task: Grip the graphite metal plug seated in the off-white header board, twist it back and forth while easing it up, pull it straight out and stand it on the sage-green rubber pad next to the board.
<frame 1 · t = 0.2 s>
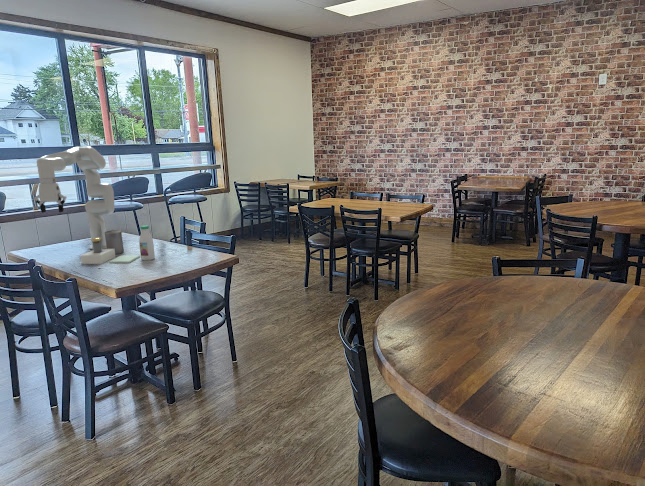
hand: (52, 212, 253), 31 cm above the table, fingers open, 9 cm apart
header: (99, 260, 270), on the table
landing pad: (125, 259, 269), on the table
milk bottle: (148, 259, 270), on the table
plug: (97, 249, 268), in the header
grey bin: (115, 253, 287), on the table
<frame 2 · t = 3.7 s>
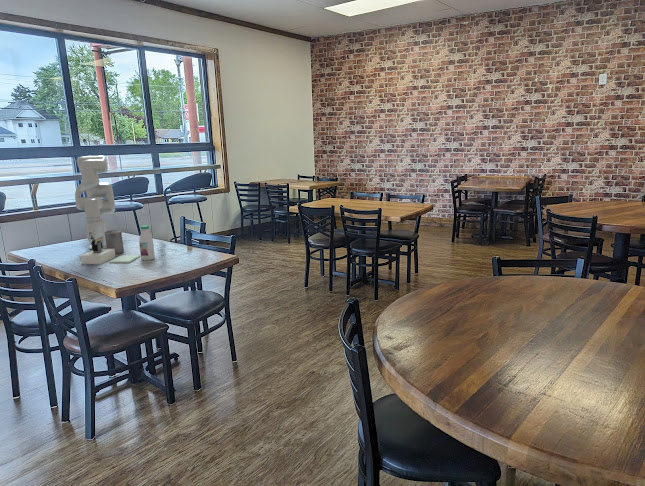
hand: (97, 249, 268), 6 cm above the table, fingers closed on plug, 4 cm apart
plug: (97, 249, 268), in the header, touching gripper
everything else where it was.
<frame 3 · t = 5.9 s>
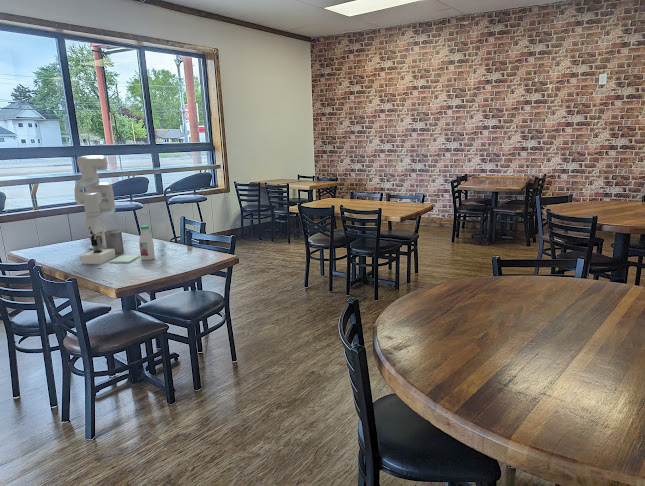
hand: (96, 244, 268), 9 cm above the table, fingers closed on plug, 4 cm apart
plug: (96, 244, 268), point 10 cm above the table, touching gripper
everything else where it was.
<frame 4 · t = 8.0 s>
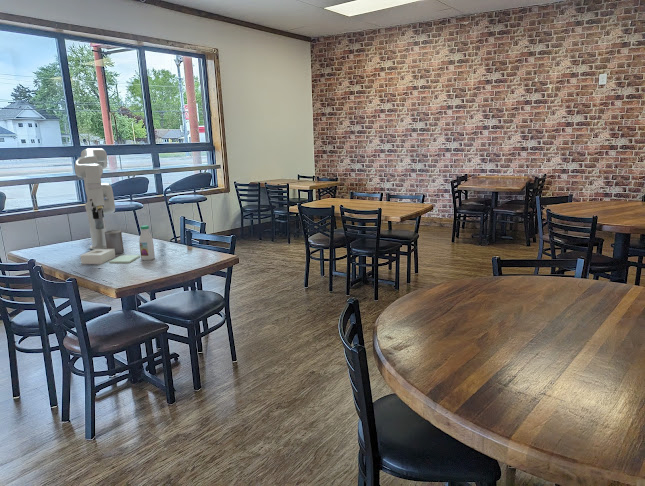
hand: (98, 217, 264), 26 cm above the table, fingers closed on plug, 4 cm apart
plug: (98, 217, 264), point 26 cm above the table, touching gripper
everything else where it was.
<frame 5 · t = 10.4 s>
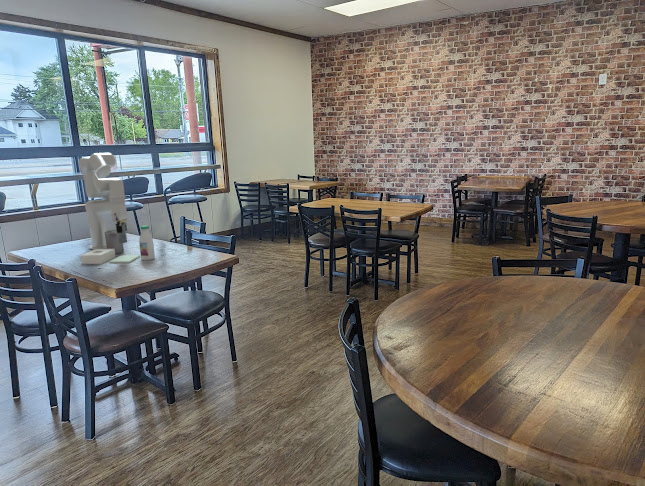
hand: (121, 231, 265), 17 cm above the table, fingers closed on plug, 4 cm apart
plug: (121, 231, 265), point 17 cm above the table, touching gripper
everything else where it was.
when the fingers open (9 cm above the table, at t = 12.3 s): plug drops 1 cm, resting on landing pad.
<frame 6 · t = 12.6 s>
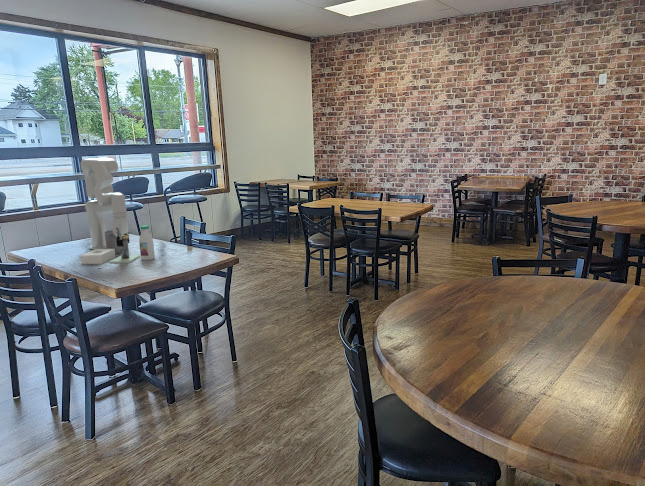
hand: (123, 244, 267), 9 cm above the table, fingers open, 7 cm apart
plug: (124, 247, 268), on the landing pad, point 8 cm above the table
everything else where it was.
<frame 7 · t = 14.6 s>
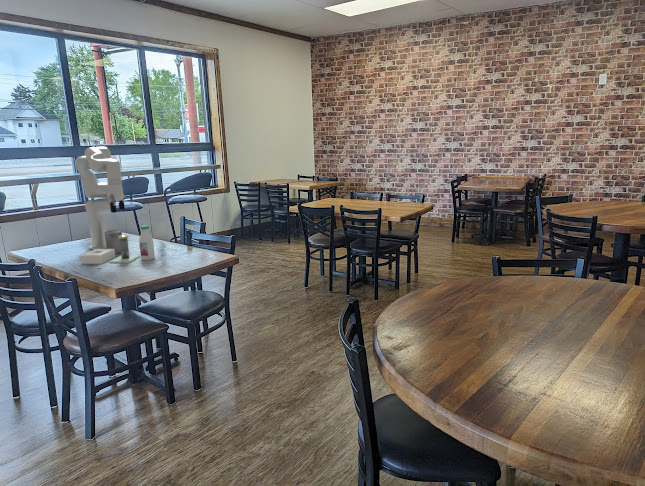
hand: (118, 210, 268), 29 cm above the table, fingers open, 9 cm apart
nothing on the table moved.
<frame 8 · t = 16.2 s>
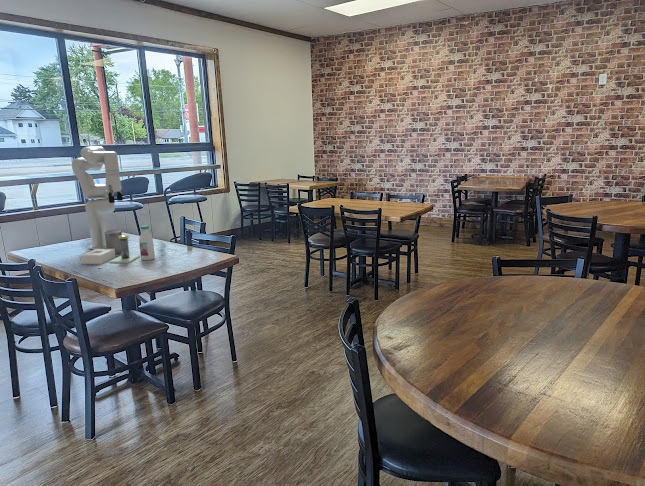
hand: (116, 201, 273), 33 cm above the table, fingers open, 9 cm apart
nothing on the table moved.
at the end: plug inside the target area on the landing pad (0.8 cm from its centre), point 7.6 cm above the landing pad's base; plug tilted 1°; the gripper is holding nothing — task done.
